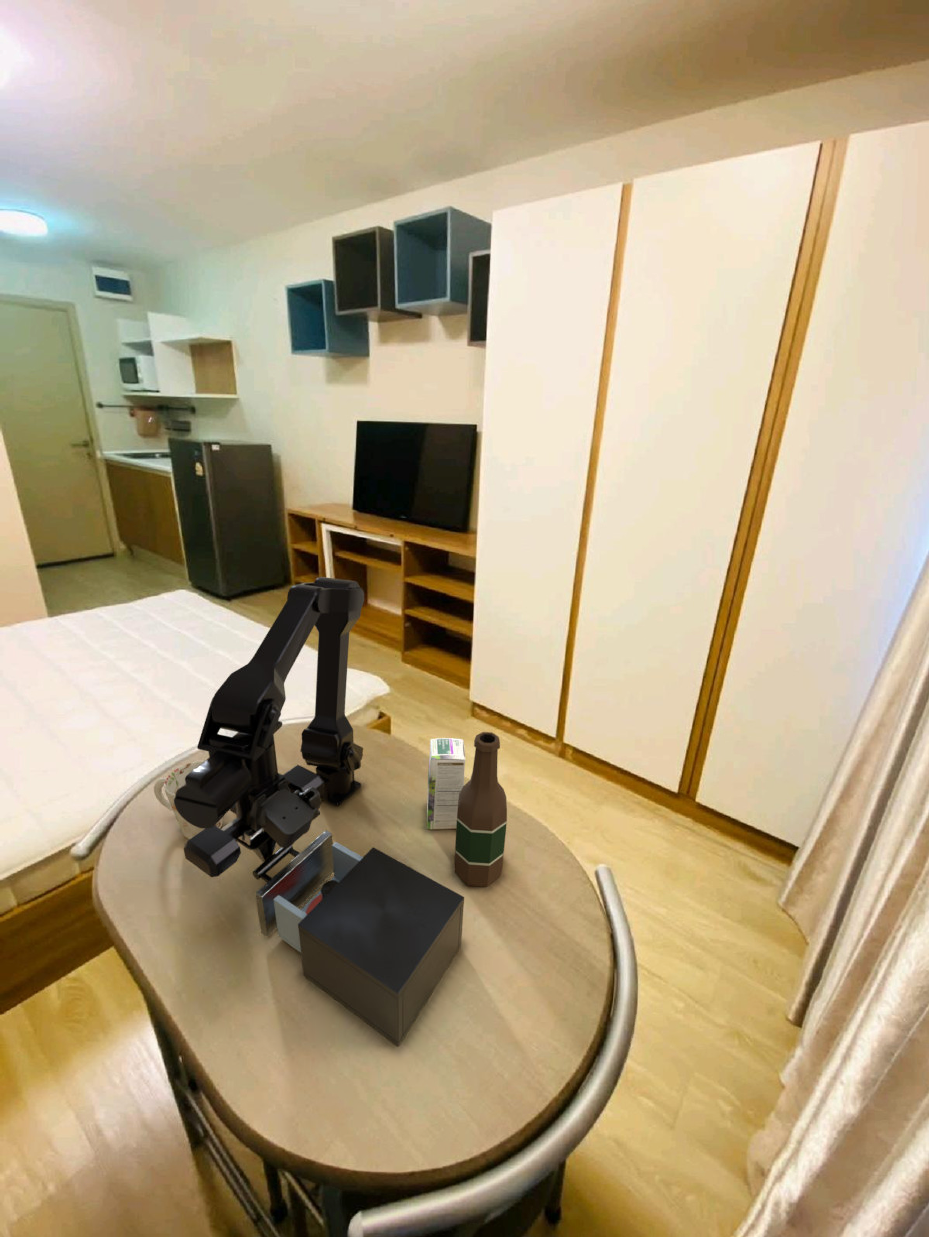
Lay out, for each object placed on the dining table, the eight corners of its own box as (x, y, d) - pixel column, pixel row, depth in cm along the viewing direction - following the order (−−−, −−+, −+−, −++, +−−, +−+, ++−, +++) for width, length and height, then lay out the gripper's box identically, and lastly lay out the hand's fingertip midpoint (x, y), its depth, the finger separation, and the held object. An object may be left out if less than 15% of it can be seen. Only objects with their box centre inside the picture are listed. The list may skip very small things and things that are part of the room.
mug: (209, 850, 81) (199, 800, 77) (139, 835, 83) (126, 785, 79) (241, 813, 88) (233, 765, 84) (176, 800, 90) (166, 752, 87)
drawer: (236, 914, 70) (229, 875, 67) (305, 852, 80) (301, 816, 77) (338, 990, 62) (335, 948, 59) (401, 910, 72) (401, 871, 69)
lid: (331, 884, 74) (329, 857, 72) (370, 908, 71) (369, 880, 69) (293, 922, 68) (290, 894, 66) (333, 950, 65) (331, 921, 63)
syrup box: (426, 805, 92) (428, 737, 86) (459, 805, 92) (463, 737, 87) (427, 830, 87) (428, 759, 81) (462, 829, 87) (466, 758, 82)
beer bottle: (510, 858, 82) (523, 731, 73) (491, 897, 75) (503, 762, 66) (465, 841, 85) (473, 716, 76) (443, 876, 78) (449, 744, 69)
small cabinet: (303, 975, 64) (297, 924, 60) (374, 894, 75) (373, 846, 71) (398, 1047, 57) (398, 994, 54) (461, 946, 68) (464, 897, 65)
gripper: (232, 845, 57) (248, 942, 63) (349, 757, 72) (353, 842, 78) (171, 805, 62) (191, 898, 68) (293, 730, 77) (301, 812, 83)
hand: (266, 860), depth 74 cm, fingers closed
